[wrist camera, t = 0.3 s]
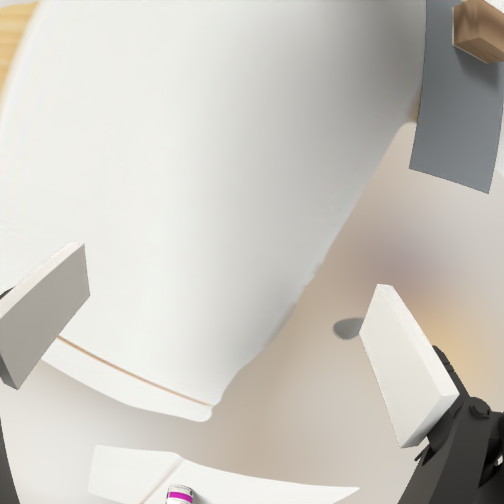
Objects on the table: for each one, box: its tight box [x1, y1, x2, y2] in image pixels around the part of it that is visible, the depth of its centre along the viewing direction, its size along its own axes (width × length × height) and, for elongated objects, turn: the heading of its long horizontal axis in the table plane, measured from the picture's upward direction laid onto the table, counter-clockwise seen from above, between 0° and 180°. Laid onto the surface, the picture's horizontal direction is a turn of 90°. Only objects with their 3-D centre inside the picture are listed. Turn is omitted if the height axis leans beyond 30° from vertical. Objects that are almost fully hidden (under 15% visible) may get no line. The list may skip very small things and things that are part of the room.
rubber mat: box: [409, 0, 504, 194], centre depth 31 cm, size 30×16×1 cm, turn 172°
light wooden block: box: [452, 0, 504, 64], centre depth 24 cm, size 7×7×7 cm
